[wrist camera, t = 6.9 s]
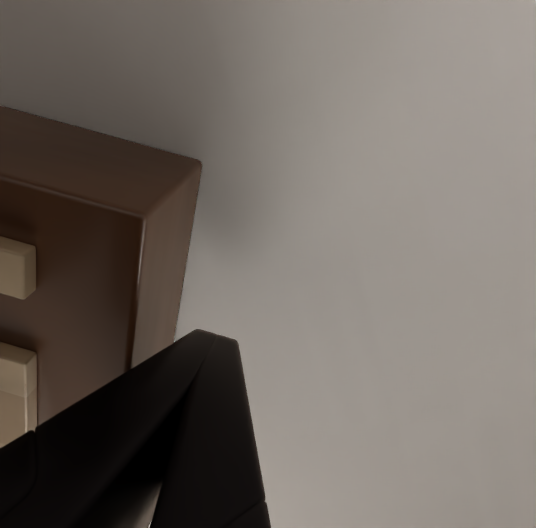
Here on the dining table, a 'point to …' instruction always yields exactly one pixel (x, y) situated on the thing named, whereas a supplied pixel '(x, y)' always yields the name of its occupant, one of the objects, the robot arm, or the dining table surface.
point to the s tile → (84, 261)
